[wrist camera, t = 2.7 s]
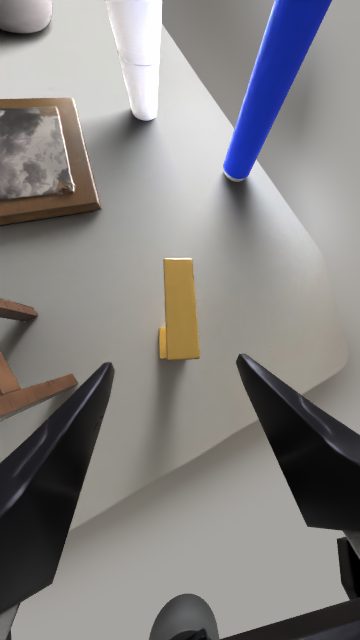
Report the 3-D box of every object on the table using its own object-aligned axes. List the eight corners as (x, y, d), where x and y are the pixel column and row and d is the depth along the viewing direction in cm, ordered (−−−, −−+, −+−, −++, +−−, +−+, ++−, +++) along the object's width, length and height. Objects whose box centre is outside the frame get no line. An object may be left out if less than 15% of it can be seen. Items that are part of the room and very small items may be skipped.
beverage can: (240, 160, 26) (332, -73, 12) (251, 180, 25) (366, -43, 11) (217, 165, 25) (286, -82, 11) (229, 185, 25) (320, -50, 10)
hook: (185, 356, 18) (222, 377, 6) (160, 358, 18) (146, 383, 6) (183, 312, 19) (209, 258, 7) (159, 312, 19) (145, 257, 7)
